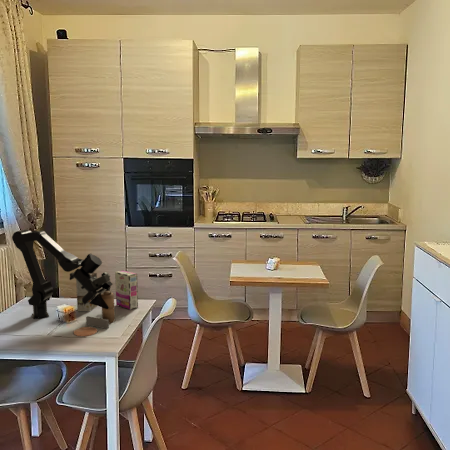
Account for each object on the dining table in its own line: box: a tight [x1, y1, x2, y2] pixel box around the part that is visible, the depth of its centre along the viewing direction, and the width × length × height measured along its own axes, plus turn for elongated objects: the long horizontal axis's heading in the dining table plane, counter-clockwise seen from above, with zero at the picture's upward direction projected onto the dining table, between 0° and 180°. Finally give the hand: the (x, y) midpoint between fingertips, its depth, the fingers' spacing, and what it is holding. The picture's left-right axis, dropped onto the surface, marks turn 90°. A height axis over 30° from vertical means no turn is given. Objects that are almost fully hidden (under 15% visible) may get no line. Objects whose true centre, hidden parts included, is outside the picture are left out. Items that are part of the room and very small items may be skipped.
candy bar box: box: [114, 270, 139, 311], centre depth 226 cm, size 11×5×16 cm, turn 48°
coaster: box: [73, 326, 98, 337], centre depth 195 cm, size 9×9×1 cm
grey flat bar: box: [85, 315, 110, 330], centre depth 201 cm, size 11×1×4 cm, turn 65°
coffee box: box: [75, 272, 98, 312], centre depth 224 cm, size 9×6×16 cm
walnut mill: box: [101, 290, 116, 324], centre depth 206 cm, size 5×5×13 cm
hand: (111, 306), depth 206 cm, fingers closed on walnut mill, 5 cm apart
